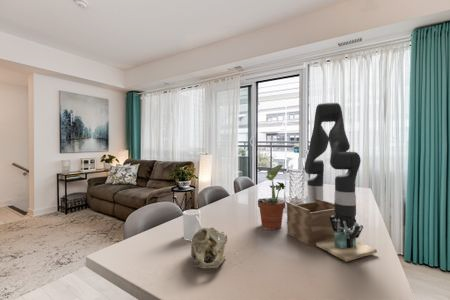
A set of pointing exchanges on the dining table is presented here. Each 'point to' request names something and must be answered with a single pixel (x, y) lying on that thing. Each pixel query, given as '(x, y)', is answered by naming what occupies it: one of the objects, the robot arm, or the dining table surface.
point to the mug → (191, 223)
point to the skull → (208, 247)
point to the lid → (345, 247)
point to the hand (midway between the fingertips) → (345, 245)
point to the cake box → (310, 221)
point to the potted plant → (272, 204)
